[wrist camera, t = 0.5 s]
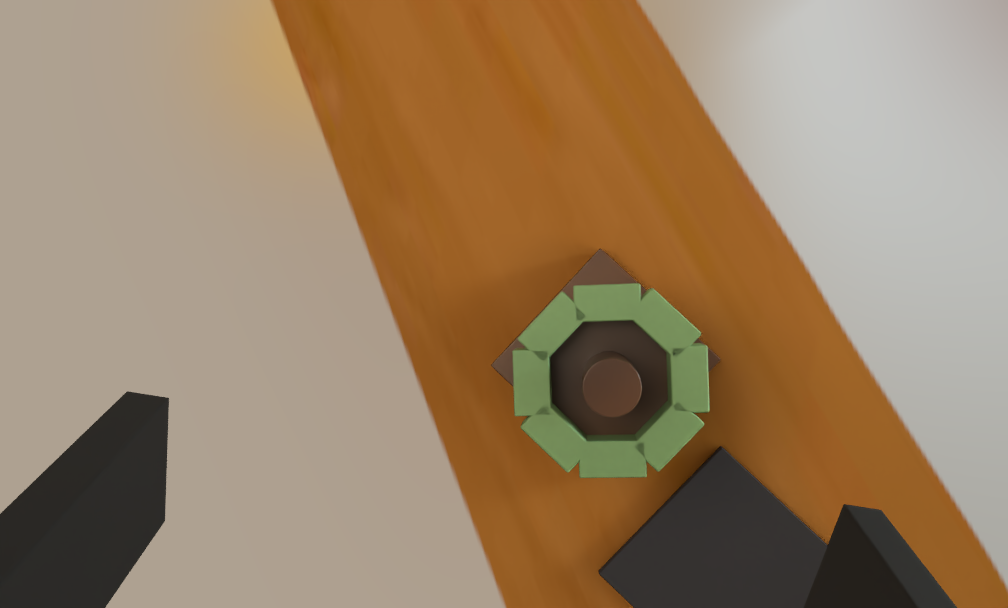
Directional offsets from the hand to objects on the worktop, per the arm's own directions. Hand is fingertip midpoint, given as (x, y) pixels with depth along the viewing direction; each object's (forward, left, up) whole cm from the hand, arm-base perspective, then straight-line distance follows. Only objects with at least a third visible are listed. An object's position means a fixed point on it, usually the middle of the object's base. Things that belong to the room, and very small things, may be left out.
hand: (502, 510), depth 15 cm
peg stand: (-2, -2, -29) cm, 29 cm away
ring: (-2, -2, -20) cm, 20 cm away
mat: (-15, +2, -29) cm, 33 cm away
